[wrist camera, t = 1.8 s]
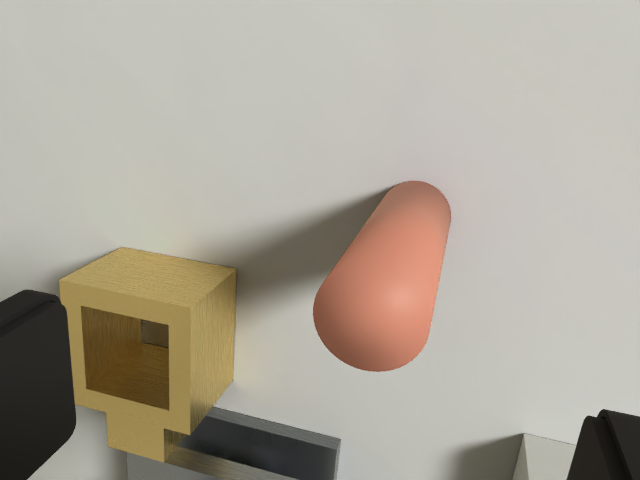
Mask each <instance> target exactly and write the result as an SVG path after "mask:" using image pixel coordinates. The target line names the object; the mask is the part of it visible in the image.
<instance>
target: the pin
mask: <svg viewBox="0 0 640 480" xmlns="http://www.w3.org/2000/svg"><path fill="white" fill-rule="evenodd" d="M450 222H451V211H450V207H449V204H448V201H447V199H446V198H445V196H444V195H443V194H442V193H441V192H440V191H439V190H438V189H437V188H435V187H434V186H432V185H430V184H428V183H425V182H421V181H407V182H403V183H400V184H398V185H396V186H394V187H393V188H392V189H390V190H389V191H388V192H387V193H386V195H385V196H384V197H383V199H382V200H381V202H380V203H379V204H378V206H377V207H376V209H375V210H374V212H373V213H372V214H371V216H370V217H369V219H368V220H367V221H366V223H365V224H364V226H363V227H362V229H361V230H360V231H359V233H358V234H357V236H356V237H355V238H354V240H353V241H352V243H351V244H350V245H349V247H348V248H347V250H346V251H345V253H344V254H343V255H342V257H341V258H340V260H339V261H338V262H337V264H336V265H335V267H334V268H333V269H332V271H331V272H330V274H329V275H328V277H327V278H326V279H325V281H324V282H323V284H322V285H321V287H320V288H319V290H318V292H317V294H316V297H315V301H314V307H313V317H314V323H315V327H316V330H317V332H318V335H319V337H320V339H321V340H322V342H323V343H324V345H325V346H326V347H327V348H328V350H329V351H330V352H331V353H332V354H333V355H335V356H336V357H337V358H338V359H340V360H341V361H343V362H345V363H346V364H348V365H350V366H353V367H355V368H358V369H362V370H366V371H377V372H380V371H389V370H393V369H396V368H399V367H401V366H404V365H406V364H407V363H409V362H410V361H412V360H413V359H414V358H415V357H416V356H417V355H418V354H419V353H420V352H421V350H422V349H423V347H424V345H425V344H426V341H427V339H428V335H429V331H430V326H431V321H432V316H433V310H434V305H435V300H436V295H437V289H438V284H439V279H440V274H441V269H442V263H443V258H444V253H445V248H446V243H447V237H448V232H449V227H450Z"/></svg>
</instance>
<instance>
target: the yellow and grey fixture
mask: <svg viewBox="0 0 640 480" xmlns="http://www.w3.org/2000/svg"><path fill="white" fill-rule="evenodd" d="M236 272H237V269H235V268H230V267H224V266H219V265H214V264H209V263H203V262H198V261H193V260H188V259H183V258H177V257H172V256H167V255H162V254H156V253H151V252H146V251H141V250H135V249H130V248H125V247H121V248H119V249H117V250H115V251H113V252H111V253H109V254H108V255H106V256H104V257H102V258H100V259H98V260H96V261H94V262H92V263H90V264H88V265H86V266H84V267H83V268H81V269H79V270H77V271H75V272H73V273H71V274H69V275H67V276H65V277H63V278H61V279H60V280H59V288H60V300H61V304H62V305H64V306H65V308H66V310H67V318H68V330H69V341H70V353H71V365H72V376H73V388H74V400H75V404H76V405H80V406H84V407H87V408H91V409H95V410H98V411H102V412H106V418H107V436H108V447H112V448H115V449H119V450H122V451H126V454H127V478H128V480H336V477H337V468H338V460H339V451H340V442H341V439H337V438H333V437H329V436H325V435H321V434H318V433H314V432H310V431H306V430H302V429H298V428H294V427H290V426H286V425H282V424H278V423H274V422H270V421H267V420H263V419H259V418H255V417H251V416H247V415H243V414H239V413H235V412H231V411H227V410H223V409H219V408H216V407H213V405H214V404H215V403H216V401H217V400H218V399H219V398H220V396H221V395H222V394H223V392H224V391H225V390H226V389H227V387H228V386H229V385H230V383H231V382H232V381H233V359H234V330H235V301H236ZM142 319H143V320H148V321H152V322H157V323H161V324H166V325H169V349H168V348H164V347H160V346H156V345H151V344H147V343H143V342H142Z"/></svg>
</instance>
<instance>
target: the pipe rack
mask: <svg viewBox="0 0 640 480" xmlns="http://www.w3.org/2000/svg"><path fill="white" fill-rule="evenodd" d="M575 449H576V445H571V444H567V443H563V442H559V441H554V440H550V439H546V438H541V437H537V436H533V435H529V434H524V435H523V439H522V443H521V447H520V451H519V455H518V459H517V463H516V467H515V471H514V475H513V479H512V480H566V479H567V476H568V473H569V469H570V466H571V462H572V459H573V456H574V452H575Z"/></svg>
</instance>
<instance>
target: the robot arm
mask: <svg viewBox="0 0 640 480" xmlns="http://www.w3.org/2000/svg"><path fill="white" fill-rule="evenodd" d="M75 425H76V411H75V400H74V388H73V376H72V365H71V353H70V341H69V330H68V318H67V310H66V308H65V306H64V305H62V304H61V301H60V299H59V298H58V297H57V296H56V295H53V294H48V293H43V292H38V291H34V290H23V291H21V292H19V293H17V294H15V295H13V296H11V297H9V298H7V299H6V300H4V301H2V302H0V480H27V479H28V478H29V477H30V476H31V475H32V474H33V473H34V472H35V471H36V470H37V469H38V468H39V467H41V466H42V465H43V464H44V463H45V462H46V461H47V460H48V459H49V458H50V457H51V456H52V455H53V454H54V453H55V452H56V451H57V450H58V449H59V448H60V447H61V446H62V445H63V444H64V443H66V442H67V441H68V439H69V438H70V437H71V435H72V434H73V431H74V429H75ZM566 480H640V417H639V416H634V415H629V414H624V413H619V412H615V411H610V410H605V409H603V410H601V411H600V412H599V414H598V416H597V417H593V416H586V418H585V419H584V422H583V425H582V428H581V432H580V435H579V438H578V442H577V445H576V449H575V452H574V456H573V459H572V462H571V466H570V469H569V473H568V476H567V479H566Z"/></svg>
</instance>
